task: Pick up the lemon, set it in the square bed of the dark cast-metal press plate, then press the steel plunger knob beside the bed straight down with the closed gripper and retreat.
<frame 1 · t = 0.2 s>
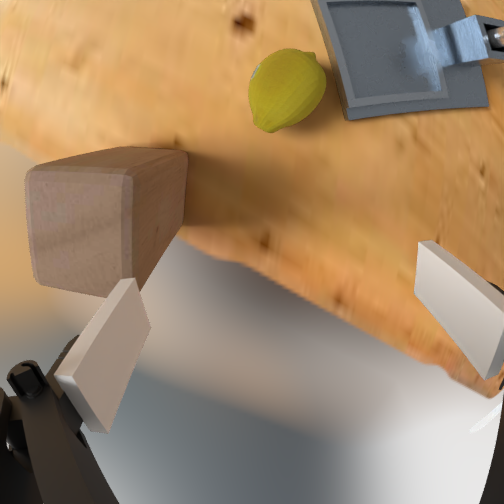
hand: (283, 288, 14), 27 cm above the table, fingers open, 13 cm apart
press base: (408, 48, 32), on the table
lemon: (281, 92, 35), on the table
wooden block: (149, 185, 39), on the table
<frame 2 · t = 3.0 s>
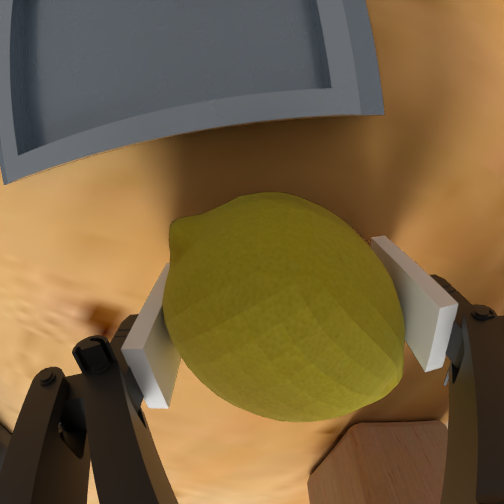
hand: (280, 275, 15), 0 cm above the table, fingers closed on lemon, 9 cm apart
lemon: (279, 269, 16), on the table, touching gripper
wooden block: (373, 450, 22), on the table
when the fingers open (3 cm above the table, at t = 7.5 s): lemon drops 1 cm, resting on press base.
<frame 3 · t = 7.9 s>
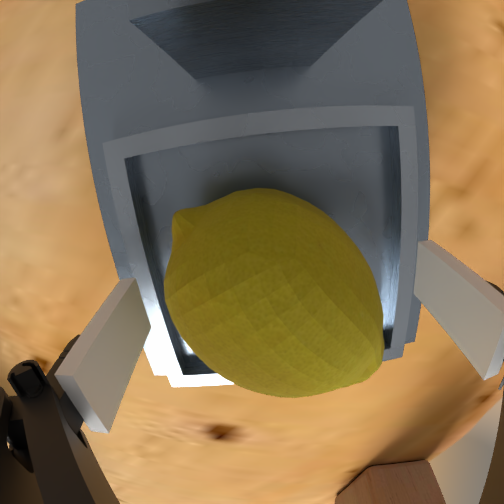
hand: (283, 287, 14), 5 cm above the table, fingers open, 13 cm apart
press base: (265, 170, 16), on the table
lemon: (271, 260, 17), point 1 cm above the table, touching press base
wooden block: (380, 478, 30), on the table
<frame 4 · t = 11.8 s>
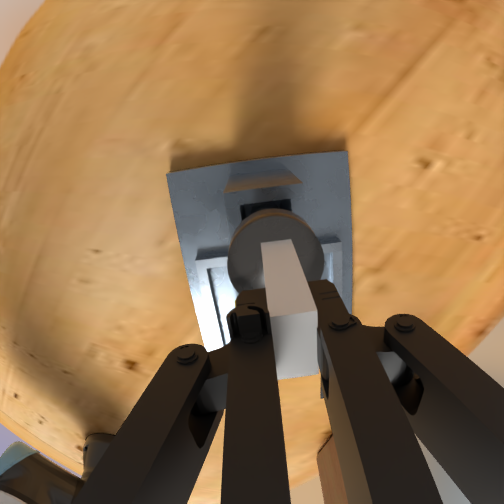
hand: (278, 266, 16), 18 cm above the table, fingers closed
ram: (269, 233, 21), point 12 cm above the table, slide at 0.6 cm, touching gripper
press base: (270, 267, 35), on the table
wooden block: (348, 442, 49), on the table
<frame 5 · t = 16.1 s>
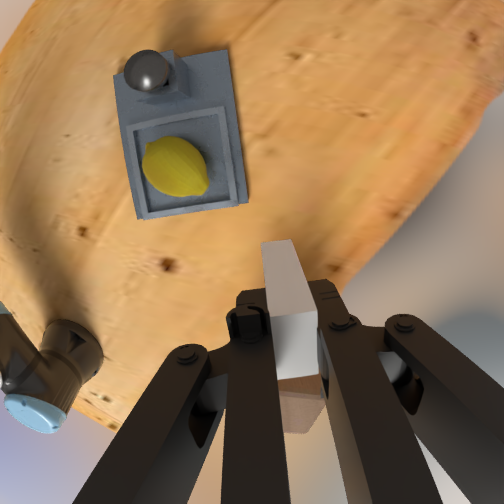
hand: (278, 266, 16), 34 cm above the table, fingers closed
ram: (156, 76, 34), point 9 cm above the table, slide at 3.8 cm
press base: (179, 134, 45), on the table
lemon: (180, 164, 46), point 1 cm above the table, touching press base
wooden block: (277, 334, 59), on the table
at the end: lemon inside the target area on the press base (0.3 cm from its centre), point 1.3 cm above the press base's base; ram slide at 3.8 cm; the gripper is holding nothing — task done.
